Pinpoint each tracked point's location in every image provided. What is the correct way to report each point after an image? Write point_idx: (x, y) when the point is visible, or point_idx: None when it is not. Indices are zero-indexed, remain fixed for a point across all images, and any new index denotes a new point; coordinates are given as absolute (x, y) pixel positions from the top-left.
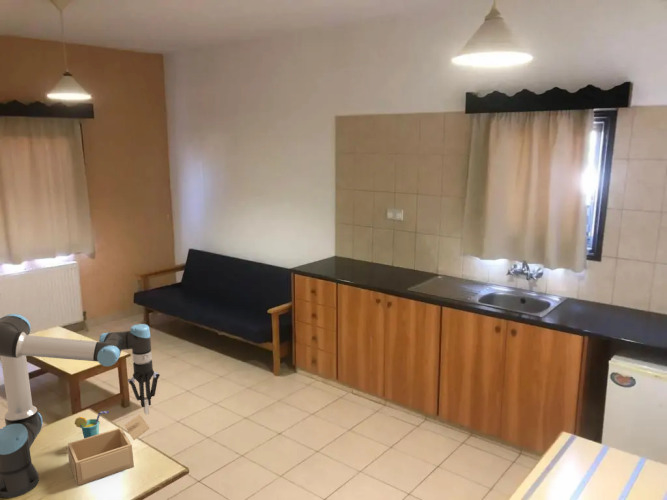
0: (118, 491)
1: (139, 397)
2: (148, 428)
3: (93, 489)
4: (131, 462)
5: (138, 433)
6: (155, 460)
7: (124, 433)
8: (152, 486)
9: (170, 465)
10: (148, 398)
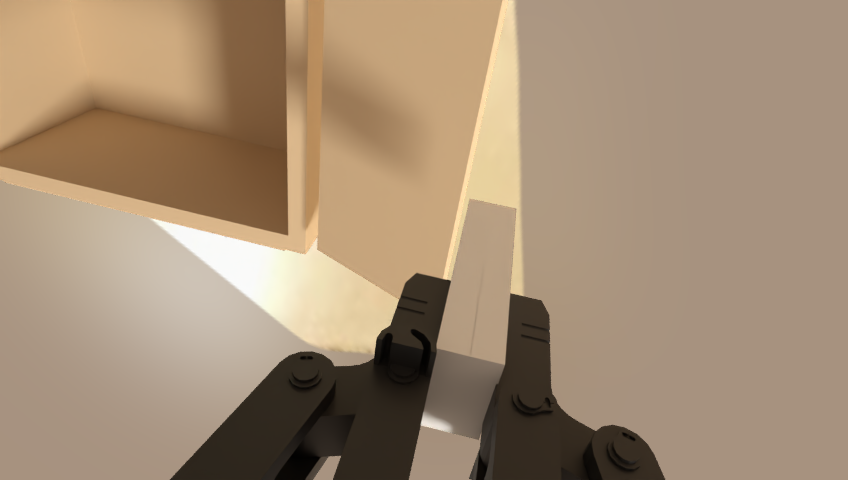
0: (248, 279)
1: (310, 475)
2: None
3: None
4: None
5: (360, 251)
6: None
7: (305, 57)
8: (369, 349)
9: None
10: (473, 475)
